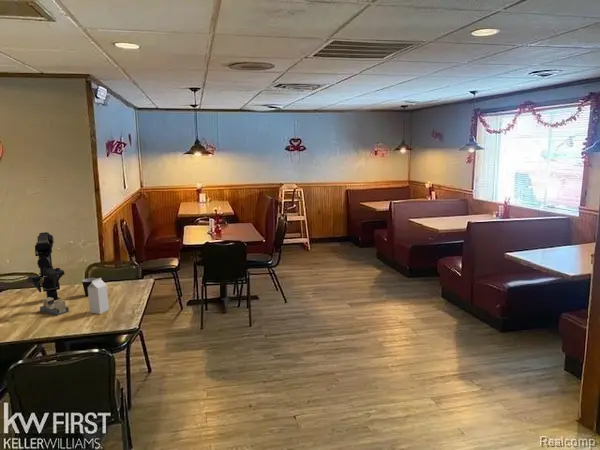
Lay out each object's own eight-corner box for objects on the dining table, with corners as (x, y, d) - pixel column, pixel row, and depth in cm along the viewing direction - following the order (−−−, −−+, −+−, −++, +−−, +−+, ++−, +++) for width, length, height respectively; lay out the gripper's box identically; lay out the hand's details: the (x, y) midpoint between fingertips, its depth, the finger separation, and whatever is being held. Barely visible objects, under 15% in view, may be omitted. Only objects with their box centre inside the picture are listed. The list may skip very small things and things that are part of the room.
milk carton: (109, 309, 264) (106, 278, 261) (100, 314, 257) (96, 281, 254) (99, 308, 266) (96, 277, 263) (90, 313, 260) (86, 280, 257)
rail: (40, 311, 265) (38, 299, 263) (52, 307, 271) (50, 296, 270) (56, 315, 257) (55, 303, 255) (68, 311, 263) (67, 300, 262)
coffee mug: (92, 297, 288) (91, 282, 286) (80, 296, 290) (78, 281, 288) (104, 291, 299) (102, 276, 298) (92, 291, 301) (90, 276, 299)
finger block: (43, 309, 265) (42, 299, 264) (50, 307, 269) (49, 297, 268) (49, 310, 263) (47, 300, 262) (55, 308, 266) (54, 298, 265)
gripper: (36, 269, 250) (40, 296, 253) (68, 261, 266) (71, 287, 269) (25, 267, 256) (28, 294, 259) (57, 259, 272) (60, 285, 275)
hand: (48, 290), depth 265 cm, fingers open, 9 cm apart
